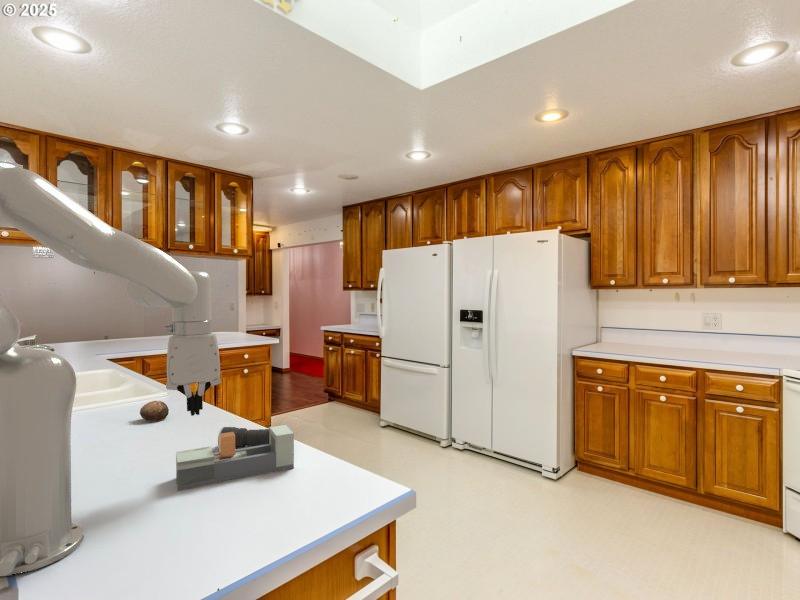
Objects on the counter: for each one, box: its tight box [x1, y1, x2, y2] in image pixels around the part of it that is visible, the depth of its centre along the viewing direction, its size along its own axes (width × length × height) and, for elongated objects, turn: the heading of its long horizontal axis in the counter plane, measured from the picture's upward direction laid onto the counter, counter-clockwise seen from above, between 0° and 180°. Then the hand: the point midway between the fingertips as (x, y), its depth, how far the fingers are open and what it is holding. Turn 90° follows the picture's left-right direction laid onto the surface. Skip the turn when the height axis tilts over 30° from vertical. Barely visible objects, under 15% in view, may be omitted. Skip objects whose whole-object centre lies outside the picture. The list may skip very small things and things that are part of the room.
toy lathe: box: [175, 424, 295, 492], centre depth 98 cm, size 24×7×8 cm, turn 119°
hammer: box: [214, 432, 247, 462], centre depth 95 cm, size 14×3×8 cm, turn 119°
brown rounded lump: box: [139, 400, 170, 423], centre depth 137 cm, size 8×8×6 cm
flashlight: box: [217, 426, 269, 449], centre depth 114 cm, size 15×5×5 cm, turn 92°
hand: (194, 413), depth 94 cm, fingers closed
